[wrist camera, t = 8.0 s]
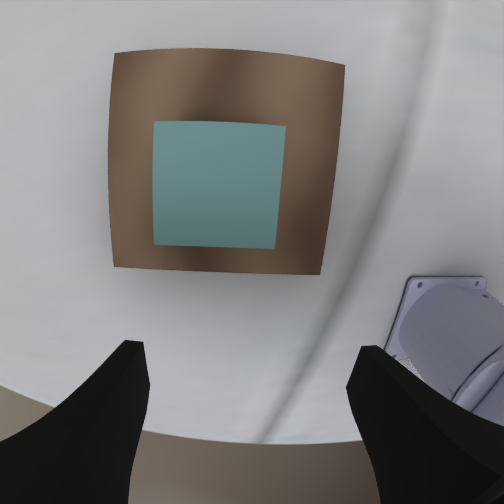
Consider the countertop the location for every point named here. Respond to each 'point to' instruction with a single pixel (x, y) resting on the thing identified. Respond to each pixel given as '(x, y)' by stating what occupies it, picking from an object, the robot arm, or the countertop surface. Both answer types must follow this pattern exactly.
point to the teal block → (216, 183)
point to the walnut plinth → (225, 110)
